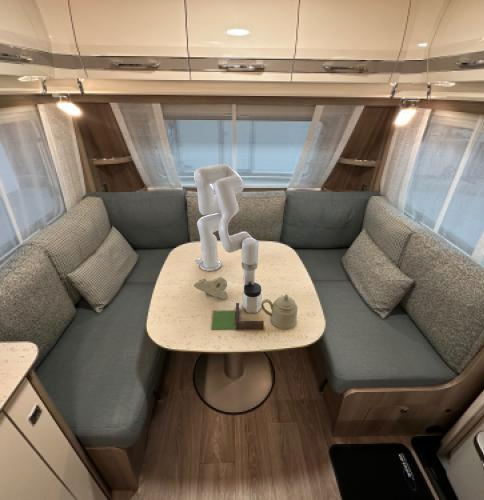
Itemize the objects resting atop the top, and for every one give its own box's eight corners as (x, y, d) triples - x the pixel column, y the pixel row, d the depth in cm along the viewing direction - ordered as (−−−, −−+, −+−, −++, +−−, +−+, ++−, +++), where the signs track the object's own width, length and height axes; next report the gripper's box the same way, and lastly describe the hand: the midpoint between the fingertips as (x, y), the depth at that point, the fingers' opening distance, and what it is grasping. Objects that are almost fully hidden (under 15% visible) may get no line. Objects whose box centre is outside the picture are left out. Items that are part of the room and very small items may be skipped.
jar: (254, 316, 123) (255, 296, 117) (239, 309, 127) (239, 289, 121) (264, 305, 130) (265, 285, 124) (249, 298, 134) (250, 279, 128)
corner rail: (235, 330, 116) (235, 323, 114) (236, 309, 127) (235, 302, 125) (263, 329, 116) (263, 323, 114) (261, 309, 127) (261, 302, 125)
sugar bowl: (269, 334, 114) (271, 307, 106) (259, 316, 123) (260, 291, 116) (300, 326, 118) (304, 300, 110) (288, 309, 127) (291, 284, 119)
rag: (211, 329, 117) (211, 328, 116) (213, 311, 126) (213, 311, 126) (234, 329, 117) (234, 328, 116) (234, 311, 126) (234, 310, 126)
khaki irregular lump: (233, 294, 140) (218, 270, 142) (235, 292, 133) (218, 267, 135) (208, 310, 136) (193, 285, 139) (208, 309, 129) (192, 283, 132)
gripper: (241, 255, 131) (241, 285, 140) (241, 273, 118) (241, 304, 127) (256, 255, 131) (255, 285, 140) (258, 273, 118) (257, 304, 127)
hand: (248, 294), depth 134 cm, fingers closed
